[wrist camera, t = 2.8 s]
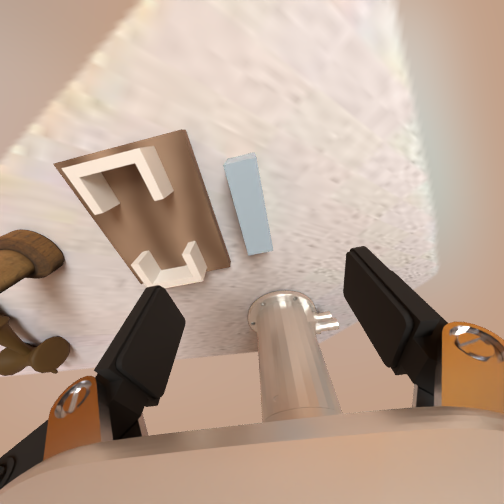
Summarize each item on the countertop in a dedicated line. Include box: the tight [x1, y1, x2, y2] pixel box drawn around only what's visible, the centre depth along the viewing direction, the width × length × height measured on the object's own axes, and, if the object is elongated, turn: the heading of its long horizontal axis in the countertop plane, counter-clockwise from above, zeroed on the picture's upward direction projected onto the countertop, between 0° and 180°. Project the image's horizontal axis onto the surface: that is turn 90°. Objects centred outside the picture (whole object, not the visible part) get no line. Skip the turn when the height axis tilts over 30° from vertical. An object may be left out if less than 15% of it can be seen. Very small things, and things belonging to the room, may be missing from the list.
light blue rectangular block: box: [223, 153, 273, 256], centre depth 21 cm, size 3×10×5 cm, turn 12°
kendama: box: [0, 315, 70, 376], centre depth 34 cm, size 6×10×20 cm
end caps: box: [61, 146, 207, 288], centre depth 22 cm, size 8×16×3 cm, turn 12°
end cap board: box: [54, 130, 231, 284], centre depth 24 cm, size 14×17×2 cm
